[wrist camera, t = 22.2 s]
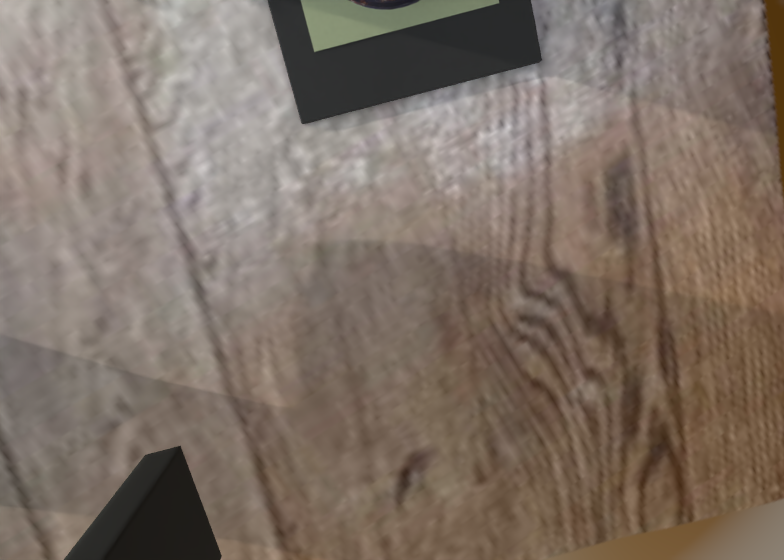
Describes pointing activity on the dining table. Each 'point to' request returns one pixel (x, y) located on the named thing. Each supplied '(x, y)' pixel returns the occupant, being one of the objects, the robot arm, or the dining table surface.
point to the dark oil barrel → (384, 4)
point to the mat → (396, 49)
